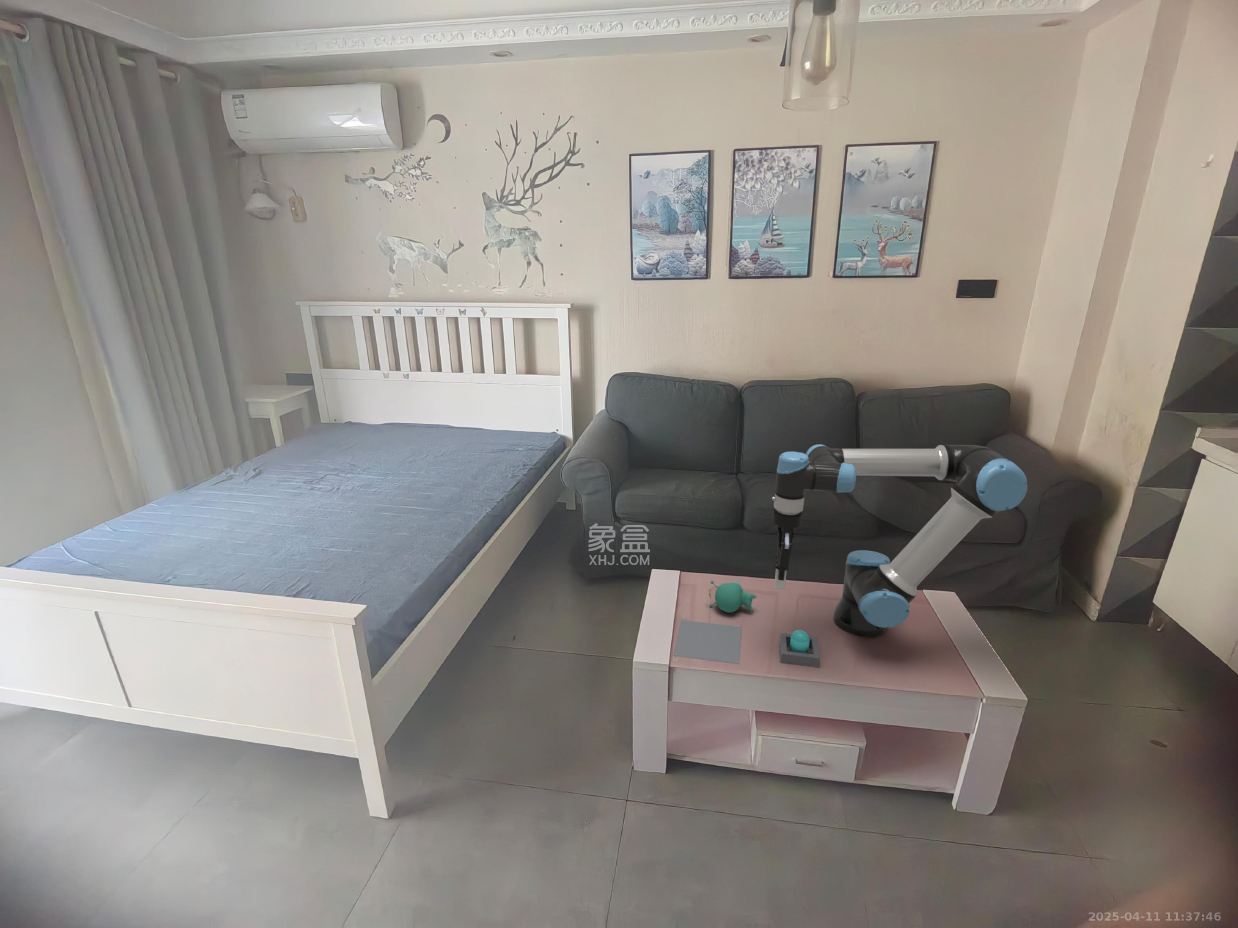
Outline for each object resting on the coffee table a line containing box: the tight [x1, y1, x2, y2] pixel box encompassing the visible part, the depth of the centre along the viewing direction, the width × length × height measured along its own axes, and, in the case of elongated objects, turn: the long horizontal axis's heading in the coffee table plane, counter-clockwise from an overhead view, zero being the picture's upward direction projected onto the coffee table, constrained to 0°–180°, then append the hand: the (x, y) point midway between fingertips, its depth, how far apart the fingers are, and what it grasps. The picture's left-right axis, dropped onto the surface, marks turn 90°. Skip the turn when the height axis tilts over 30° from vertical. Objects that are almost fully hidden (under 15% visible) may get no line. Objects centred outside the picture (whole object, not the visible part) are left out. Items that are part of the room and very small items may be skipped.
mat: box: [673, 619, 742, 665], centre depth 177 cm, size 18×18×1 cm
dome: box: [789, 629, 810, 654], centre depth 170 cm, size 5×5×7 cm
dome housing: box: [779, 632, 821, 668], centre depth 170 cm, size 10×10×3 cm
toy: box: [707, 580, 757, 614], centre depth 192 cm, size 10×10×15 cm
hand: (779, 587), depth 170 cm, fingers closed
